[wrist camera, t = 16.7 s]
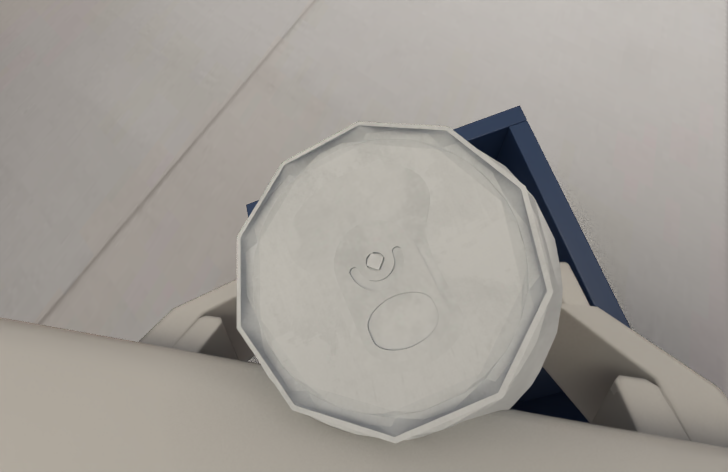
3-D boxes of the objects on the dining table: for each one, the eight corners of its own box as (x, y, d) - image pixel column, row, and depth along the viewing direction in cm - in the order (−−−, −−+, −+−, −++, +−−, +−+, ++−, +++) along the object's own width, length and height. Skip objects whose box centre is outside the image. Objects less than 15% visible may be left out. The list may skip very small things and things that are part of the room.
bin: (593, 397, 16) (693, 451, 10) (347, 452, 18) (298, 526, 12) (494, 171, 20) (519, 105, 14) (301, 236, 22) (245, 204, 16)
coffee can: (443, 236, 16) (458, 31, 4) (493, 327, 14) (713, 376, 3) (357, 277, 16) (170, 190, 5) (397, 370, 15) (265, 557, 3)
